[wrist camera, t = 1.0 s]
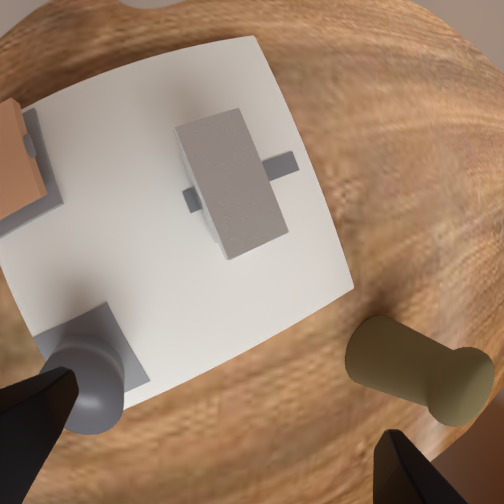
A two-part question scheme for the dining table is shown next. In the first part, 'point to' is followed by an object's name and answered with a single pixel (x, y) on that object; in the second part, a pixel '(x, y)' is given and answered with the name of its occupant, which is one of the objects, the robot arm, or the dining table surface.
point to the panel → (164, 220)
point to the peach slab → (17, 162)
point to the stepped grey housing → (230, 182)
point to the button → (91, 382)
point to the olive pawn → (420, 369)
